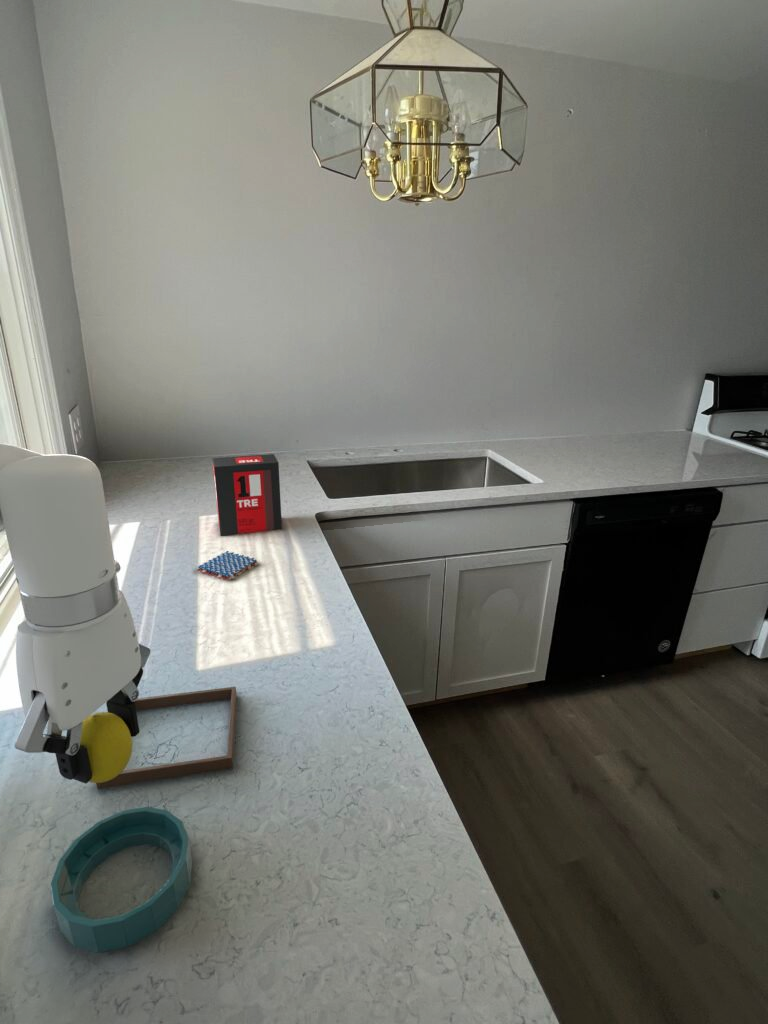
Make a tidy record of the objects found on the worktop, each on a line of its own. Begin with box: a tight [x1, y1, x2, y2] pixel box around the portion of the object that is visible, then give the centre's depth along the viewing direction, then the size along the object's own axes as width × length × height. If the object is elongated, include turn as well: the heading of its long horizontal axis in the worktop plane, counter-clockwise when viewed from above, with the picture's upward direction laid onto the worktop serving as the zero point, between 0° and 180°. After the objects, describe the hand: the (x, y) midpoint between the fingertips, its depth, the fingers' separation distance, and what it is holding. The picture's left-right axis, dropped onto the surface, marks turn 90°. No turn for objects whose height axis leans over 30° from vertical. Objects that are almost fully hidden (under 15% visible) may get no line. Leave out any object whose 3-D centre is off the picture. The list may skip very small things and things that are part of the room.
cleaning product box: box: [212, 453, 283, 537], centre depth 153 cm, size 16×9×20 cm, turn 108°
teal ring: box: [50, 806, 193, 954], centre depth 60 cm, size 13×13×4 cm
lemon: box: [80, 711, 133, 784], centre depth 55 cm, size 6×6×8 cm
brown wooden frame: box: [95, 686, 238, 790], centre depth 81 cm, size 17×15×2 cm
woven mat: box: [196, 550, 258, 581], centre depth 132 cm, size 10×11×2 cm
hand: (102, 752), depth 56 cm, fingers closed on lemon, 5 cm apart
